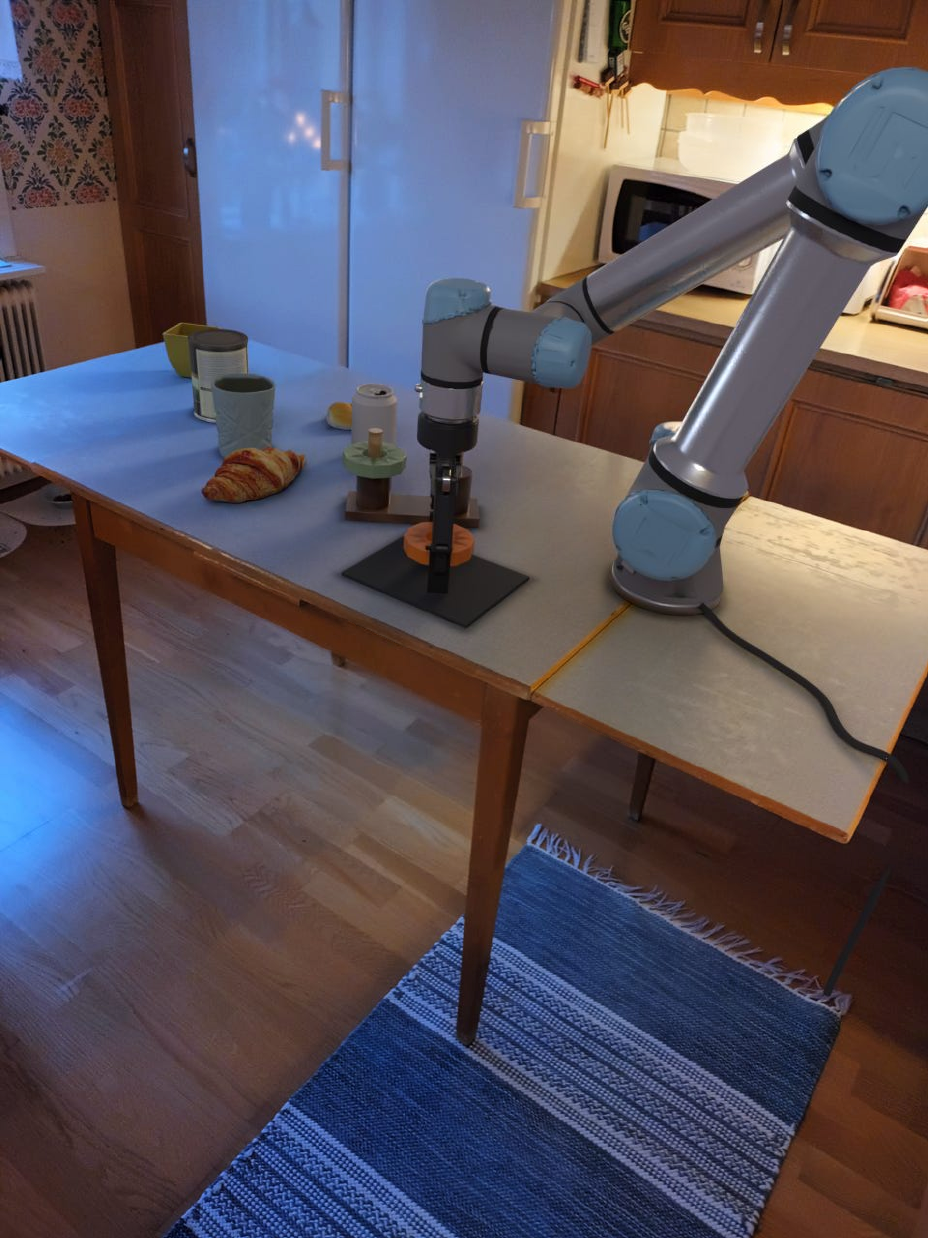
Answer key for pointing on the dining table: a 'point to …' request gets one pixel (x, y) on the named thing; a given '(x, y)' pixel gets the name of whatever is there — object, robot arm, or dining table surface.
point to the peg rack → (404, 497)
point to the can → (373, 412)
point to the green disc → (374, 461)
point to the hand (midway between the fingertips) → (437, 572)
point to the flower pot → (181, 346)
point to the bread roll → (340, 415)
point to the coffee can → (214, 364)
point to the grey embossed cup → (243, 411)
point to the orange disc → (422, 537)
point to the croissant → (253, 474)
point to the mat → (464, 603)
